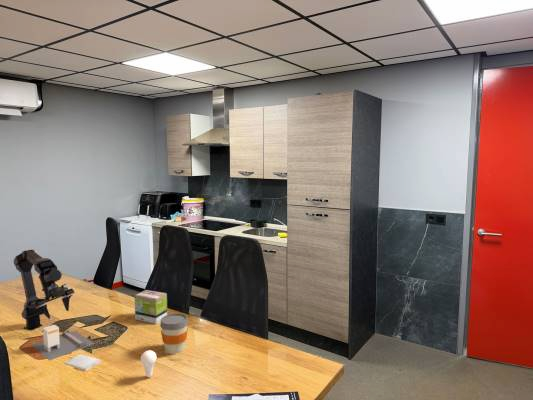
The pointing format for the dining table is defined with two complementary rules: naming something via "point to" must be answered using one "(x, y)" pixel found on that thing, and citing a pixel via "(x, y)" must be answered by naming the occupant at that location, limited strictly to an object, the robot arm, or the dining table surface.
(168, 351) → the reusable coffee cup
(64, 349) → the mounting plate
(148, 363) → the lightbulb
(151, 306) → the tea box
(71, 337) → the rail
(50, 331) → the block
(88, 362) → the hard drive
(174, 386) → the dining table surface
